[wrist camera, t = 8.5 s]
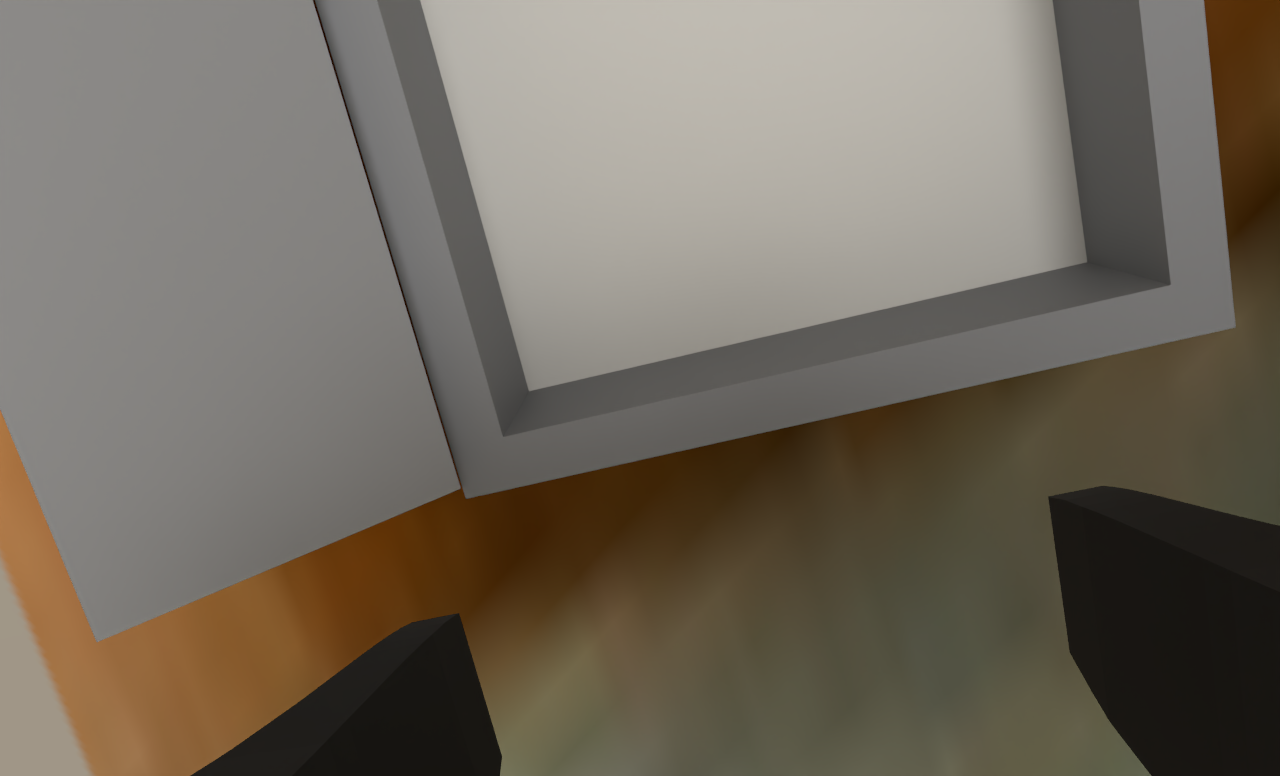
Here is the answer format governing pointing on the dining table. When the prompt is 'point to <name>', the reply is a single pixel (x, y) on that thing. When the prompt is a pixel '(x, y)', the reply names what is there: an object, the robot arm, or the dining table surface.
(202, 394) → the carton flap
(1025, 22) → the gray open box
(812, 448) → the dining table surface
